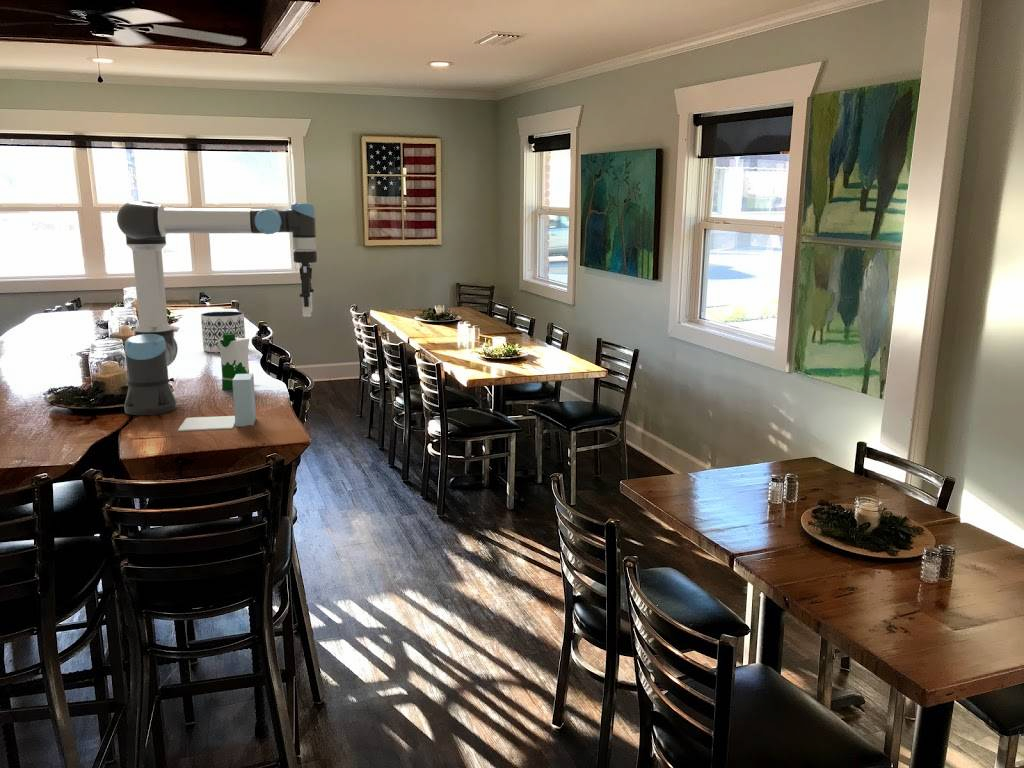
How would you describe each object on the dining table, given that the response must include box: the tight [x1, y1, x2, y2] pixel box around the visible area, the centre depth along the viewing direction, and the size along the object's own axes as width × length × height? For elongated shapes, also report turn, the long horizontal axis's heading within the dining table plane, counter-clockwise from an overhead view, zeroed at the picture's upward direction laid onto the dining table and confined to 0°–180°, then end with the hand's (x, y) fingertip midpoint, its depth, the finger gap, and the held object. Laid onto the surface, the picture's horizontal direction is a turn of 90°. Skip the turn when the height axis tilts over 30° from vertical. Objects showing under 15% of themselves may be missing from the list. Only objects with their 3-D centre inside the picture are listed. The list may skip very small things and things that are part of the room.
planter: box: [200, 310, 246, 354], centre depth 363 cm, size 18×18×16 cm
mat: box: [177, 415, 235, 432], centre depth 240 cm, size 15×14×1 cm
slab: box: [232, 373, 257, 427], centre depth 240 cm, size 5×9×14 cm, turn 12°
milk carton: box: [217, 333, 250, 392], centre depth 284 cm, size 9×9×20 cm
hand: (307, 314), depth 272 cm, fingers open, 13 cm apart
